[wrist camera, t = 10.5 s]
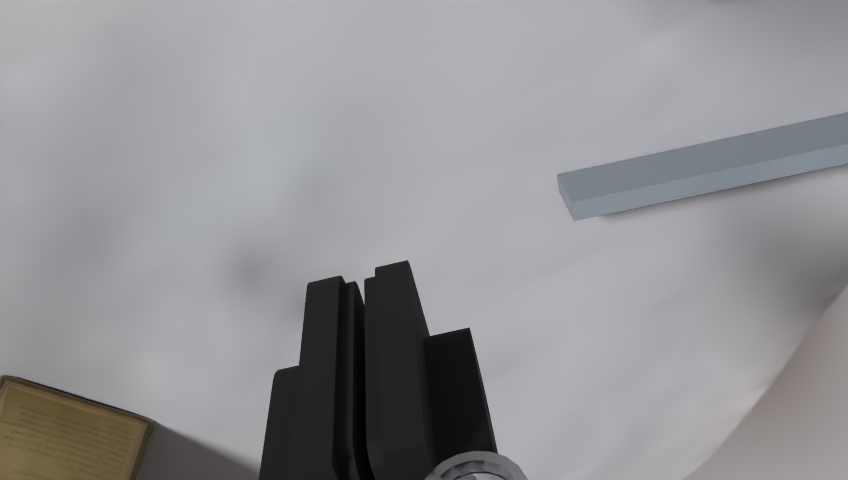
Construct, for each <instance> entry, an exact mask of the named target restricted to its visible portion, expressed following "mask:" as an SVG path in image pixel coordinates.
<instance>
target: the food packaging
mask: <svg viewBox="0 0 848 480" xmlns="http://www.w3.org/2000/svg"><path fill="white" fill-rule="evenodd" d="M155 427H156V423H155V421H152V420H150V419H147V418H145V417H142V416H139V415H135V414H132V413H129V412H126V411H123V410H120V409H116V408H112V407H109V406H105V405H102V404H98V403H95V402H92V401H89V400H86V399H83V398H80V397H76V396H73V395H70V394H67V393H63V392H60V391H57V390H54V389H50V388H47V387H44V386H41V385H38V384H35V383H32V382H28V381H25V380H22V379H19V378H15V377H10V376H0V480H137V478H138V475H139V472H140V469H141V466H142V463H143V460H144V458H145V455H146V452H147V449H148V447H149V444H150V441H151V438H152V436H153V433H154V430H155Z"/></svg>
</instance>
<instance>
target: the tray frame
mask: <svg viewBox="0 0 848 480" xmlns="http://www.w3.org/2000/svg"><path fill="white" fill-rule="evenodd" d="M847 163H848V113H844V114H839V115H834V116H830V117H825V118H820V119H816V120H811V121H806V122H802V123H797V124H792V125H788V126H783V127H778V128H774V129H769V130H764V131H760V132H755V133H750V134H745V135H741V136H736V137H731V138H727V139H722V140H717V141H713V142H708V143H703V144H699V145H694V146H689V147H685V148H680V149H675V150H671V151H666V152H661V153H657V154H652V155H647V156H643V157H638V158H633V159H629V160H624V161H619V162H615V163H610V164H605V165H601V166H596V167H591V168H587V169H582V170H577V171H572V172H568V173H563V174H558V175H557V176H558V184H559V192H560V194H561V196H562V198H563V200H564V202H565V204H566V206H567V208H568V210H569V212H570V214H571V216H572V218H573V220H574V221H577V220H582V219H586V218H591V217H596V216H601V215H605V214H610V213H615V212H620V211H624V210H629V209H634V208H639V207H643V206H648V205H653V204H658V203H662V202H667V201H672V200H677V199H681V198H686V197H691V196H696V195H700V194H705V193H710V192H715V191H719V190H724V189H729V188H733V187H738V186H743V185H748V184H752V183H757V182H762V181H767V180H771V179H776V178H781V177H786V176H790V175H795V174H800V173H805V172H809V171H814V170H819V169H824V168H828V167H833V166H838V165H843V164H847Z"/></svg>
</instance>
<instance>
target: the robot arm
mask: <svg viewBox="0 0 848 480" xmlns="http://www.w3.org/2000/svg"><path fill="white" fill-rule="evenodd" d="M364 292H365V306H364V303H363V299H362V296H361V293H360V290H359V288H358V285H357V283H356V282H355V281H354V282H349V283H345V281H344V279H343V277H342V276H336V277H332V278H328V279H323V280H319V281H314V282H310V283H308V285H307V292H306V302H305V312H304V322H303V332H302V341H301V351H300V361H299V366H294V367H290V368H285V369H281V370H277V372H276V373H275V375H274V379H273V384H272V392H271V399H270V406H269V413H268V420H267V427H266V434H265V441H264V448H263V455H262V462H261V469H260V476H259V480H528V479H527V477H526V476H525V474H524V473H523V472H522V470H521V469H520V467H519V466H518V465H517V464H516V463H514V462H513V461H511V460H510V459H509V458H507V457H506V456H502V455H499V454H498V452H497V447H496V442H495V437H494V432H493V428H492V423H491V418H490V413H489V408H488V404H487V399H486V395H485V390H484V386H483V381H482V377H481V373H480V368H479V364H478V360H477V356H476V352H475V347H474V343H473V339H472V335H471V331H470V328H465V329H461V330H456V331H452V332H447V333H443V334H438V335H434V336H430V335H429V331H428V328H427V324H426V321H425V317H424V314H423V310H422V306H421V303H420V299H419V296H418V292H417V289H416V285H415V281H414V278H413V274H412V271H411V267H410V264H409V262H408V260H407V261H402V262H398V263H393V264H389V265H385V266H380V267H376V268H375V277H371V278H367V279H365V281H364Z"/></svg>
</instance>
